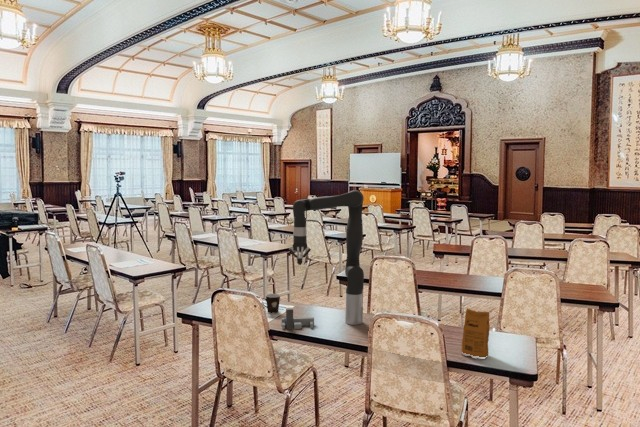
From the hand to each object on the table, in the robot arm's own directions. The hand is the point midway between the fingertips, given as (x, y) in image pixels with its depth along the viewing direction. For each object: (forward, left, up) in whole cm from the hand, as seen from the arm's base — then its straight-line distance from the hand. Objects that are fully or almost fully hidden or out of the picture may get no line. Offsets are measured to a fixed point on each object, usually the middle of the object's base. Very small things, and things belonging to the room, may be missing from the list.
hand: (299, 264), depth 279 cm
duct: (+2, +14, -32) cm, 35 cm away
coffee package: (-77, +64, -32) cm, 105 cm away
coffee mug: (+16, -16, -32) cm, 39 cm away
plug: (+7, +16, -32) cm, 36 cm away
